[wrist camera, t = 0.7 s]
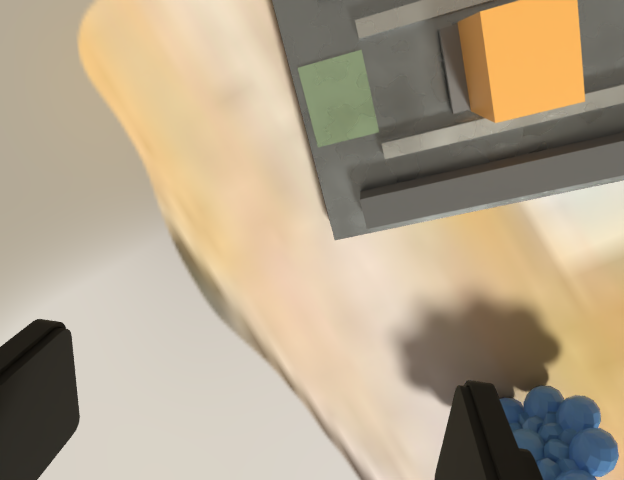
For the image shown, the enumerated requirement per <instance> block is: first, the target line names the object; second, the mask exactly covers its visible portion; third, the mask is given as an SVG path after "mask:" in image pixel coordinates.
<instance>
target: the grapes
mask: <svg viewBox="0 0 624 480" xmlns="http://www.w3.org/2000/svg"><path fill="white" fill-rule="evenodd" d="M500 402H501V404H502V407H503V409H504V412H505V415H506V417H507V420H508V422H509V425H510V427H511V430H512V432H513V435H514V438H515V440H516V443H517V445H518V448H522V449H528V450H529V451H530V452H531V453H532V455H533V457H534V459H535V461H536V463H537V466H538V468H539V470H540V473H541V475H542V478H543V480H596V478H595V476H597V477H602V476H604V475H606V474H608V473H609V472H610V471H612V470H613V469H614V467H615V465H616V463H617V460H618V456H619V455H618V445H617V442H616V441H615V440H614V438H613V437H612V435H611V434H610V433H608V432H606V431H604V430H603V429H601V428H598V426H599V424H600V421H601V415H600V409H599V407H598V406H597V404H596V403H595V402H594V401H593V400H591V399H590V398H588V397H586V396H578V395H575V396H571V397H568V398H566V399H565V400H564V398H563V396H562V395H561V393H560V392H559V390H557V389H555V388H553V387H551V386H543V385H541V386H538V387H535V388H533V389H532V390H531V391H530V392H529V393H528V394H527V396H526V398H525V401H524V407H523V405H522V404H521V402H519V401H517V400H515V399H514V398H502V399H500Z"/></svg>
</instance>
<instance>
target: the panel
mask: <svg viewBox="0 0 624 480" xmlns="http://www.w3.org/2000/svg"><path fill="white" fill-rule="evenodd" d="M515 1H519V0H272V2H273V6H274V10H275V14H276V17H277V21H278V25H279V29H280V33H281V37H282V40H283V44H284V48H285V52H286V56H287V59H288V63H289V67H290V71H291V75H292V79H293V82H294V86H295V90H296V94H297V98H298V101H299V105H300V109H301V113H302V117H303V121H304V124H305V128H306V132H307V136H308V140H309V143H310V147H311V151H312V155H313V159H314V162H315V166H316V170H317V174H318V178H319V182H320V185H321V189H322V193H323V197H324V201H325V204H326V208H327V212H328V216H329V220H330V224H331V227H332V231H333V235H334V239H335V240H339V239H343V238H348V237H353V236H358V235H363V234H367V233H372V232H377V231H382V230H387V229H392V228H396V227H401V226H406V225H411V224H416V223H420V222H425V221H430V220H435V219H440V218H444V217H449V216H454V215H459V214H464V213H469V212H473V211H478V210H483V209H488V208H493V207H497V206H502V205H507V204H512V203H517V202H521V201H526V200H531V199H536V198H541V197H546V196H550V195H555V194H560V193H565V192H570V191H574V190H579V189H584V188H589V187H594V186H599V185H603V184H608V183H613V182H618V181H623V180H624V175H623V176H618V177H613V178H609V179H604V180H599V181H594V182H589V183H585V184H580V185H575V186H570V187H566V188H561V189H556V190H551V191H546V192H542V193H537V194H532V195H527V196H523V197H518V198H513V199H508V200H504V201H499V202H494V203H489V204H484V205H480V206H475V207H470V208H465V209H461V210H456V211H451V212H446V213H442V214H437V215H432V216H427V217H422V218H418V219H413V220H408V221H403V222H399V223H394V224H389V225H384V226H379V227H375V228H370V229H367V228H366V223H365V219H364V215H363V211H362V206H361V202H360V192H361V191H365V190H369V189H374V188H378V187H382V186H387V185H391V184H396V183H400V182H405V181H409V180H413V179H418V178H422V177H427V176H431V175H436V174H440V173H445V172H449V171H453V170H458V169H462V168H467V167H471V166H476V165H480V164H484V163H489V162H493V161H498V160H502V159H507V158H511V157H515V156H520V155H524V154H529V153H533V152H538V151H542V150H546V149H551V148H555V147H560V146H564V145H569V144H573V143H577V142H582V141H586V140H591V139H595V138H600V137H604V136H608V135H613V134H617V133H622V132H624V0H577V2H578V14H579V27H580V40H581V53H582V66H583V79H584V92H585V102H582V103H577V104H573V105H569V106H565V107H561V108H557V109H552V110H548V111H544V112H540V113H536V114H532V115H527V116H523V117H519V118H515V119H511V120H507V121H503V122H498V123H494V122H492V121H490V120H488V119H486V118H484V117H482V116H480V115H478V114H476V113H474V112H472V111H471V110H467V111H463V112H459V113H455V114H453V113H452V110H451V104H450V98H449V92H448V86H447V80H446V74H445V68H444V61H443V55H442V49H441V43H440V37H439V31H438V30H439V29H442V28H445V27H449V26H452V25H456V24H458V23H457V22H459V21H461V20H463V19H465V18H467V17H469V16H471V15H474V14H476V13H478V12H480V11H484V10H487V9H491V8H494V7H498V6H501V5H505V4H508V3H512V2H515Z"/></svg>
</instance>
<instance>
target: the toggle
mask: <svg viewBox="0 0 624 480" xmlns="http://www.w3.org/2000/svg"><path fill="white" fill-rule="evenodd" d="M457 23H458V24H456V25H452V26H449V27H445V28H442V29H439V30H438V31H439V37H440V43H441V49H442V55H443V61H444V68H445V74H446V80H447V86H448V92H449V98H450V104H451V110H452V113H453V114H455V113H459V112H463V111H467V110H471V111H472V112H474V113H476V114H478V115H480V116H482V117H484V118H486V119H488V120H490V121H492V122H494V123H498V122H503V121H507V120H511V119H515V118H519V117H523V116H527V115H532V114H536V113H540V112H544V111H548V110H552V109H557V108H561V107H565V106H569V105H573V104H577V103H582V102H585V92H584V79H583V66H582V53H581V40H580V27H579V14H578V2H577V0H519V1H515V2H512V3H508V4H505V5H501V6H498V7H494V8H491V9H487V10H484V11H480V12H478V13H476V14H474V15H471V16H469V17H467V18H465V19H463V20H461V21H459V22H457Z"/></svg>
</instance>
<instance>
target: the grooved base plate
mask: <svg viewBox="0 0 624 480" xmlns="http://www.w3.org/2000/svg"><path fill="white" fill-rule="evenodd" d="M623 175H624V132H622V133H617V134H613V135H608V136H604V137H600V138H595V139H591V140H586V141H582V142H577V143H573V144H569V145H564V146H560V147H555V148H551V149H546V150H542V151H538V152H533V153H529V154H524V155H520V156H515V157H511V158H507V159H502V160H498V161H493V162H489V163H484V164H480V165H476V166H471V167H467V168H462V169H458V170H453V171H449V172H445V173H440V174H436V175H431V176H427V177H422V178H418V179H413V180H409V181H405V182H400V183H396V184H391V185H387V186H382V187H378V188H374V189H369V190H365V191H361V192H360V202H361V206H362V211H363V215H364V219H365V223H366V228H367V229H370V228H375V227H379V226H384V225H389V224H394V223H399V222H403V221H408V220H413V219H418V218H422V217H427V216H432V215H437V214H442V213H446V212H451V211H456V210H461V209H465V208H470V207H475V206H480V205H484V204H489V203H494V202H499V201H504V200H508V199H513V198H518V197H523V196H527V195H532V194H537V193H542V192H546V191H551V190H556V189H561V188H566V187H570V186H575V185H580V184H585V183H589V182H594V181H599V180H604V179H609V178H613V177H618V176H623Z"/></svg>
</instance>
